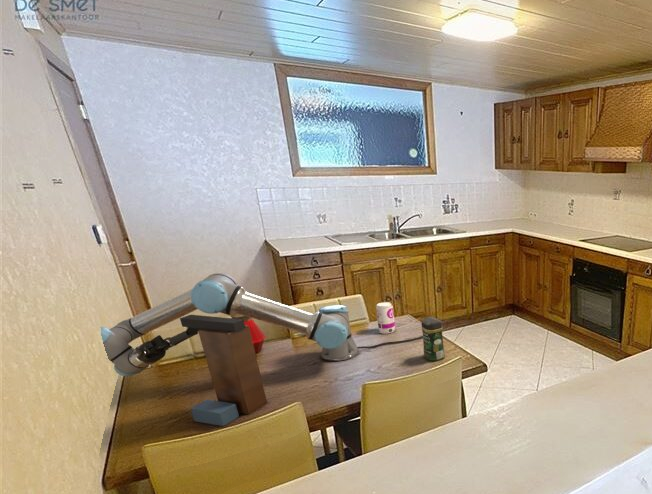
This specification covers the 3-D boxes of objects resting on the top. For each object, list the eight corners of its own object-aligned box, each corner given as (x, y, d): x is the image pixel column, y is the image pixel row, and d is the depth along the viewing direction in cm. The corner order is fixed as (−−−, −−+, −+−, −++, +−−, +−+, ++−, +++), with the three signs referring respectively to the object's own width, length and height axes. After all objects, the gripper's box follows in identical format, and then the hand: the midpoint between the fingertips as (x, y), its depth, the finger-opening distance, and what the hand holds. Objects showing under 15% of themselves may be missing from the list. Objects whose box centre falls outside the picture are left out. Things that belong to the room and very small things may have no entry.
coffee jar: (421, 355, 195) (418, 317, 188) (437, 351, 200) (434, 314, 193) (431, 363, 188) (428, 323, 181) (447, 358, 193) (444, 319, 186)
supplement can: (398, 329, 225) (395, 302, 220) (388, 335, 218) (385, 307, 213) (385, 327, 228) (382, 301, 223) (375, 333, 221) (372, 305, 215)
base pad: (194, 421, 143) (190, 408, 142) (210, 411, 149) (207, 399, 147) (223, 426, 141) (219, 413, 139) (239, 416, 146) (235, 403, 145)
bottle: (269, 353, 195) (260, 312, 188) (234, 360, 188) (223, 317, 181) (266, 342, 207) (257, 303, 200) (232, 348, 200) (222, 308, 193)
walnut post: (220, 409, 150) (197, 330, 140) (239, 398, 158) (219, 322, 147) (248, 414, 148) (228, 333, 137) (267, 402, 155) (248, 325, 144)
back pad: (182, 326, 143) (179, 318, 141) (193, 322, 146) (190, 314, 145) (235, 331, 139) (233, 323, 138) (245, 327, 142) (243, 319, 141)
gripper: (187, 349, 167) (220, 329, 159) (116, 377, 144) (150, 355, 137) (175, 333, 165) (208, 311, 158) (101, 358, 142) (135, 335, 135)
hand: (181, 331), depth 147 cm, fingers open, 13 cm apart
